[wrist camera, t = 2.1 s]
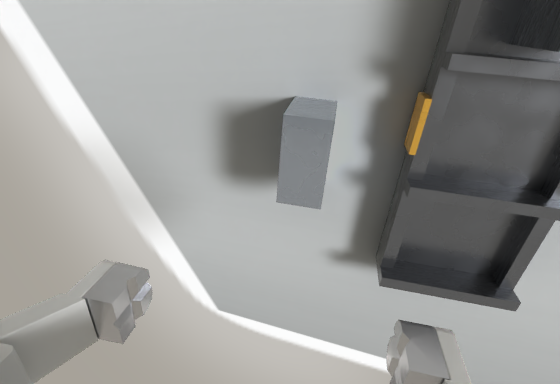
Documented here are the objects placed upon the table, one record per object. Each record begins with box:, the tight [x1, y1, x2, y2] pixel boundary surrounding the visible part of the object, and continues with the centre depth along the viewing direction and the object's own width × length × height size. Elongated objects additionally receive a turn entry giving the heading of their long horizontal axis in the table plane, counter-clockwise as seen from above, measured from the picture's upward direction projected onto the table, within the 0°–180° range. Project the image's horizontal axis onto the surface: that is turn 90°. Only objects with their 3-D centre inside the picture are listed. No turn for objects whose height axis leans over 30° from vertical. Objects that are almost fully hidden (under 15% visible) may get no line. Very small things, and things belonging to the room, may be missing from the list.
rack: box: [376, 0, 560, 311], centre depth 18 cm, size 25×10×6 cm, turn 176°
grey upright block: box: [276, 96, 337, 209], centre depth 22 cm, size 6×3×5 cm, turn 176°
